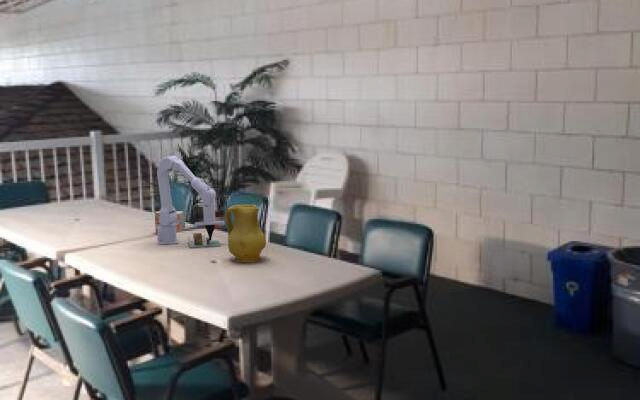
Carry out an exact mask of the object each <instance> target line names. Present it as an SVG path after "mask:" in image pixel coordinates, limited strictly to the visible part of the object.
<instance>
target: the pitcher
mask: <svg viewBox="0 0 640 400" xmlns="http://www.w3.org/2000/svg"><path fill="white" fill-rule="evenodd" d="M259 211H260V208H259V207H258V206H257V204H235V205H231V206H230V207H228V208H227V209H226V210H225V213H224V214H225V216H224V217H225V225H226V227H227V232H228V234H227V236H228V237H227V247H228V251H229V253H230V254H232V255H233V256H234V258H233V262H236V263H241V264H242V263H249V264H250V263H257V262H260V261H261V259H262V258H261V257H260V255H261V253H262V251H263V250H264V249H265V248H266V245H267V240H266V236H265V233H264V232H263V230H262V229H261V227H260V223H259V215H258V212H259ZM232 215H233V218H232ZM232 219H234V220H232Z"/></svg>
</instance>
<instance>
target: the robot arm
mask: <svg viewBox="0 0 640 400" xmlns="http://www.w3.org/2000/svg"><path fill="white" fill-rule="evenodd" d="M172 171H176V172H180V174H181V175H182V176H184V177H185V178H186V179H187V180H188V181H189V182H190V185H191V187H192V188H193V189H194V190H195V191H196V193H198V194H199V195H200V199H201V200H202V205H203V206H202V208H203V209H202V211H203V212H202V214H203V221H197V222H194V227H195V228H198V227H204V228H205V230H206V232H207V235H208V238H209V240H210V241H212V237H213V234H214V231H215V228H216V226H225V225H226V223H225V220H216V206H215V205H216V201H215V199H216V197H217V193H216V191H215V189H214V188H212V187H210V185H207V183H205V181H204V178H200V177H197V176H196V175H195V174H193V172H192V171H191V170H190V169H189V167H187V165H186V164H185V163H184V161H183V159H181V158H180V157H179V156H178V155H173V154H172V155H170V156H164V157H163V158H161V160H160V161H159V166H158V167H157V171H156V176H157V185H158V190H159V191H158V192H159V198H160V199H159V200H160V204H161V205H160V206H161V208H160V210H159V211H160V216H159V222H160V224H161V226H158V235H157V237H156V238H157V239H156V241H157V242H158V245H172V244H173V245H174V244H179V241H178V238H177V237H178V236H177V231H176V221H177V219H178V215H177V213H176V211H177V210H176V211H175V209H176V208H175V206H174V205H173V199H172V193H171V185H170V177H169V174H171V173H172Z"/></svg>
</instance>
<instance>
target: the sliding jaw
mask: <svg viewBox="0 0 640 400" xmlns="http://www.w3.org/2000/svg"><path fill="white" fill-rule="evenodd" d="M210 241H211V240H209V237H206V235H205V234H204V235H203V234H202V245H203V246H207V243H210Z"/></svg>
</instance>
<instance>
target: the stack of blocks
mask: <svg viewBox="0 0 640 400" xmlns="http://www.w3.org/2000/svg"><path fill="white" fill-rule="evenodd" d="M175 211H176V213H177V215H178V219H177V221H176V232H177V231H179V230H182V229H185V228H186V217H185V216H186V215H185V211H179V210H177V209H176V208H175ZM159 216H160V210H159V211H155V212H154V224H155V235H157V236H158V226H161V224H160V222H159Z"/></svg>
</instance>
